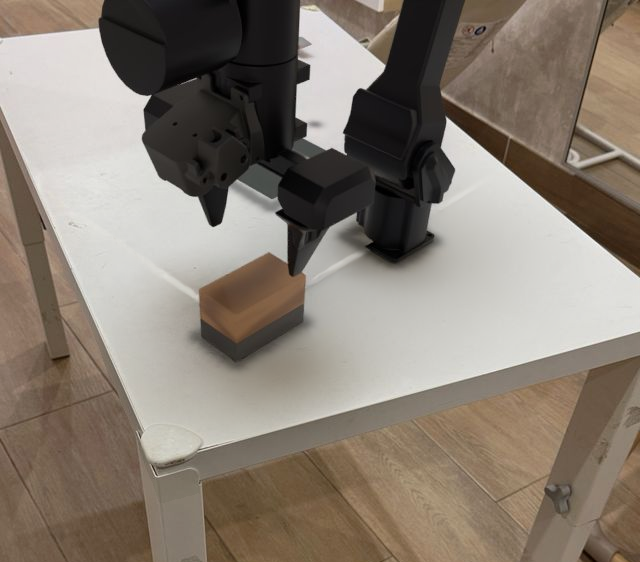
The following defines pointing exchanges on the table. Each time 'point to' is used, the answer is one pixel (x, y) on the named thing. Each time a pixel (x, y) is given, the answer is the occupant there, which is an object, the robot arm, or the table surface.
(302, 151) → the slate board
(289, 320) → the eraser
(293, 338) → the table surface
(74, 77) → the table surface
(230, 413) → the table surface
